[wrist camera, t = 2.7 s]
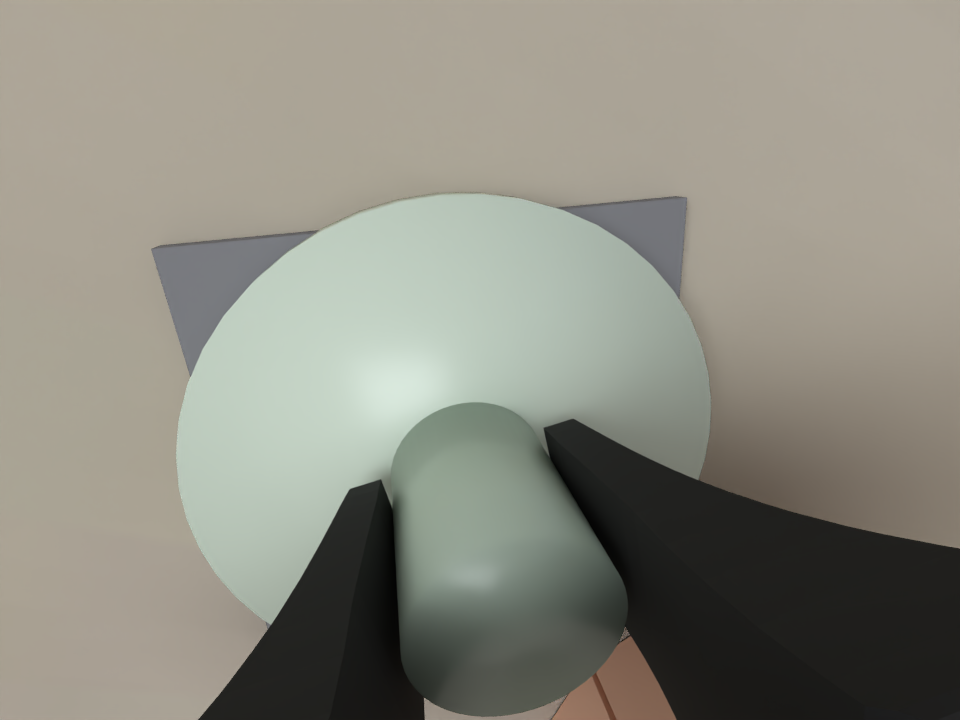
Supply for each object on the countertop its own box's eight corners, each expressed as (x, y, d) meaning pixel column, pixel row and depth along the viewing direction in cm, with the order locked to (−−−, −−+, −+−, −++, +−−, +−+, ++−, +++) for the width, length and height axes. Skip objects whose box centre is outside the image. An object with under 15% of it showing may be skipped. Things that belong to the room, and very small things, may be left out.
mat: (676, 196, 11) (687, 197, 10) (650, 568, 14) (657, 579, 14) (159, 245, 9) (151, 249, 9) (280, 647, 13) (278, 661, 13)
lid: (712, 168, 10) (968, 175, 6) (673, 589, 14) (807, 779, 10) (109, 221, 9) (-170, 285, 4) (261, 680, 13) (201, 957, 8)
